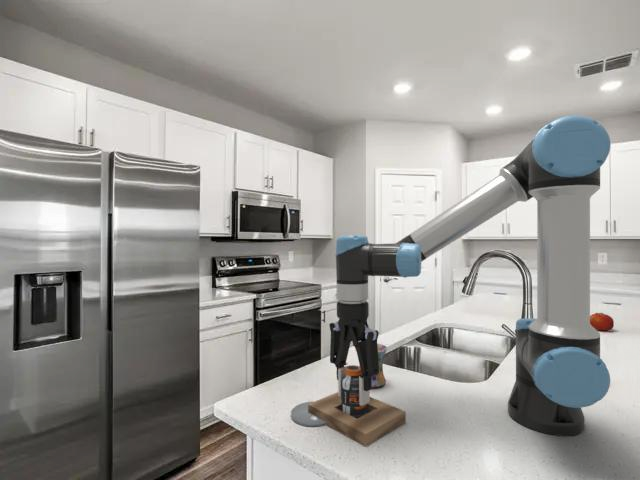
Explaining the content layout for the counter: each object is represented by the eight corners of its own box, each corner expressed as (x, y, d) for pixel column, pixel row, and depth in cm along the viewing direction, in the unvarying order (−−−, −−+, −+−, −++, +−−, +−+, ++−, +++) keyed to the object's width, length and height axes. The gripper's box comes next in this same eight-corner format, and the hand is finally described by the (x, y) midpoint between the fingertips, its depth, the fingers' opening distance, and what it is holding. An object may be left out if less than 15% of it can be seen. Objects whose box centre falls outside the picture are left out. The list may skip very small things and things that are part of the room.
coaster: (346, 415, 86) (346, 412, 86) (311, 432, 78) (311, 429, 78) (315, 400, 94) (315, 397, 94) (281, 414, 86) (281, 411, 86)
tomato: (582, 328, 167) (582, 310, 167) (600, 327, 168) (600, 310, 168) (600, 333, 158) (600, 315, 158) (619, 332, 159) (619, 314, 159)
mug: (393, 386, 102) (393, 349, 102) (365, 392, 98) (365, 353, 98) (371, 372, 113) (371, 338, 113) (345, 377, 110) (345, 342, 109)
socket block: (405, 422, 82) (405, 411, 82) (365, 446, 73) (365, 434, 73) (348, 397, 95) (348, 387, 95) (308, 414, 86) (308, 404, 86)
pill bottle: (350, 424, 81) (349, 373, 81) (336, 413, 86) (335, 365, 86) (371, 417, 83) (370, 368, 83) (357, 407, 89) (356, 361, 89)
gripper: (395, 303, 80) (396, 407, 80) (335, 294, 94) (336, 383, 94) (373, 308, 75) (375, 418, 75) (313, 298, 89) (315, 391, 89)
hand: (353, 398), depth 85 cm, fingers closed on pill bottle, 6 cm apart
